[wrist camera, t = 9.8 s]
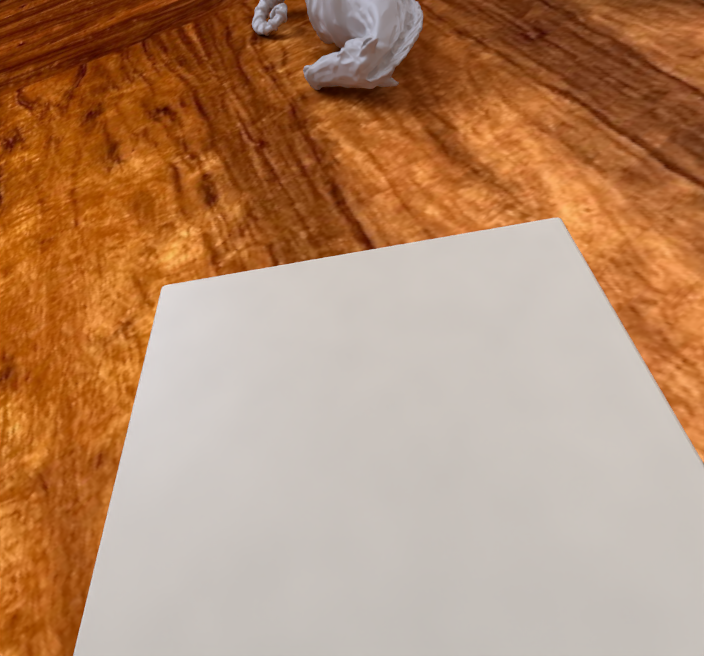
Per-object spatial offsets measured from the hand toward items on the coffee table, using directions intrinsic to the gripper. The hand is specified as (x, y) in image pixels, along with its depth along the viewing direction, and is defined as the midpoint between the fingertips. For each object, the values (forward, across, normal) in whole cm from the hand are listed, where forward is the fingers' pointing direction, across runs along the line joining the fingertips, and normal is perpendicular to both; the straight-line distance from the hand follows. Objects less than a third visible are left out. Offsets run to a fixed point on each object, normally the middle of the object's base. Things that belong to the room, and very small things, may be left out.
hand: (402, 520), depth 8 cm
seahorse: (+30, 0, -20) cm, 36 cm away
